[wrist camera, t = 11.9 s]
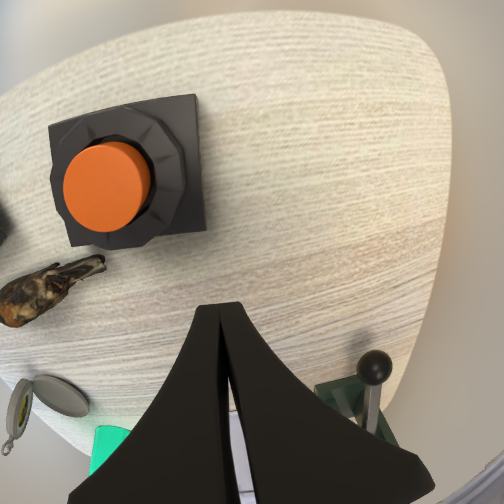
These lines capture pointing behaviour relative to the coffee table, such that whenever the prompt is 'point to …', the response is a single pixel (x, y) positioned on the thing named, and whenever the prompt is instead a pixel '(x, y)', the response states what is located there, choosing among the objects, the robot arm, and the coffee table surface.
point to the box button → (106, 186)
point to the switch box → (157, 158)
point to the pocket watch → (49, 393)
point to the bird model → (43, 289)
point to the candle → (105, 444)
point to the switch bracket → (352, 403)
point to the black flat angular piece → (2, 236)
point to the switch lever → (373, 384)
